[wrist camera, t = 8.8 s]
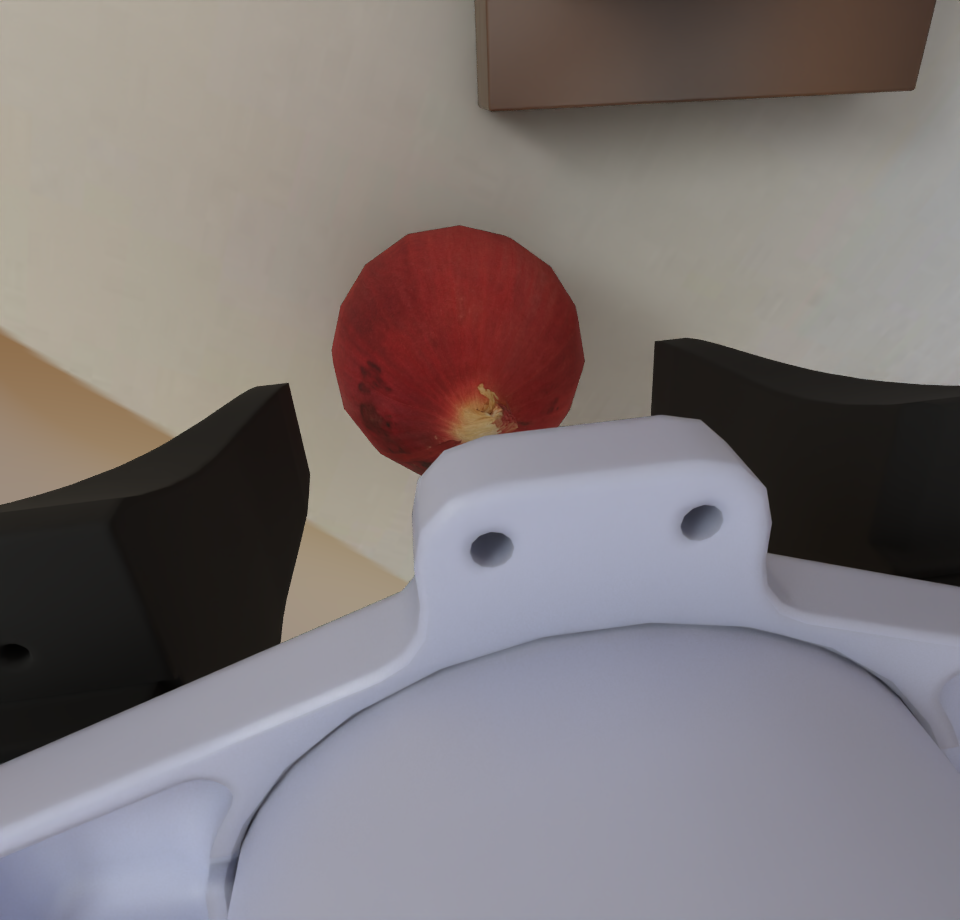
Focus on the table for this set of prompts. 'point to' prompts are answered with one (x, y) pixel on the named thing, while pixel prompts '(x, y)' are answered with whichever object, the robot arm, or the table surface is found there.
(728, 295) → the table surface
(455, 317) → the red fruit
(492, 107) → the button box
